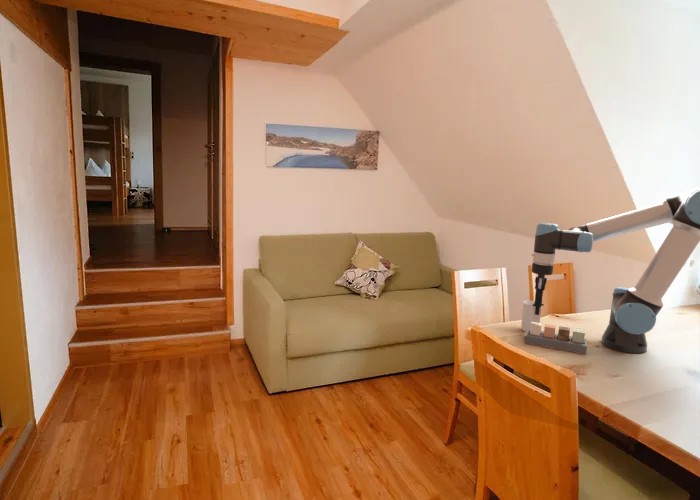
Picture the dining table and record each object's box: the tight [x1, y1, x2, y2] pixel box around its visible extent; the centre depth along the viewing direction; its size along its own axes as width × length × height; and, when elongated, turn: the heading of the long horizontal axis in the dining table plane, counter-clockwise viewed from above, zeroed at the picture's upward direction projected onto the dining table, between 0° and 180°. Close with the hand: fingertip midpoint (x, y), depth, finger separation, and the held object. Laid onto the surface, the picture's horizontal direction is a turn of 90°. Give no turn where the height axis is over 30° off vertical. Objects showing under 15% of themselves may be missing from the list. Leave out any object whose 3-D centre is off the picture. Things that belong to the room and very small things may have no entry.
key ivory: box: [530, 322, 543, 336], centre depth 171 cm, size 4×4×4 cm
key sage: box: [571, 327, 586, 343], centre depth 165 cm, size 4×4×4 cm
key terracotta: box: [543, 323, 556, 338], centre depth 169 cm, size 4×4×4 cm
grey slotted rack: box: [525, 329, 588, 355], centre depth 169 cm, size 21×9×3 cm, turn 64°
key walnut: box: [557, 325, 571, 341], centre depth 167 cm, size 4×4×4 cm
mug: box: [520, 300, 535, 333], centre depth 185 cm, size 10×7×12 cm, turn 138°
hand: (536, 321), depth 171 cm, fingers closed
